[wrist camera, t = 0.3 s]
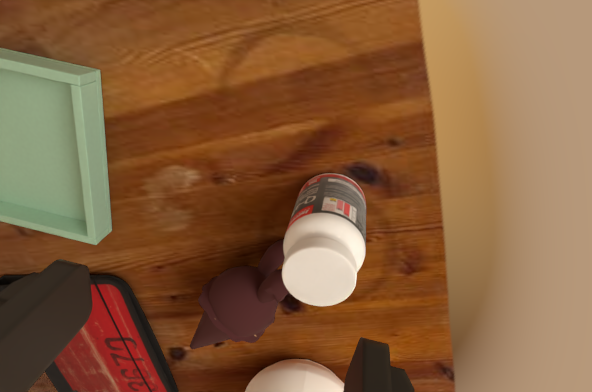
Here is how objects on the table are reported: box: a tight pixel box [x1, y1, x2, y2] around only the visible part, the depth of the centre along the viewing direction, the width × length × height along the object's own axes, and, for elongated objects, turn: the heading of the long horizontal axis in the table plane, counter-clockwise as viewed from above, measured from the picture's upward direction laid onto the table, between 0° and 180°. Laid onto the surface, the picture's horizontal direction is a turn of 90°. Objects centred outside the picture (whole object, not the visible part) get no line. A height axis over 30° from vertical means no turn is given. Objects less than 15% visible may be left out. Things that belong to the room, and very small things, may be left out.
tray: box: [0, 48, 112, 245], centre depth 33 cm, size 16×16×3 cm
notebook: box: [0, 274, 178, 392], centre depth 45 cm, size 16×2×21 cm
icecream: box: [190, 240, 289, 349], centre depth 35 cm, size 7×7×15 cm
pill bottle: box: [282, 173, 366, 306], centre depth 28 cm, size 6×6×10 cm
